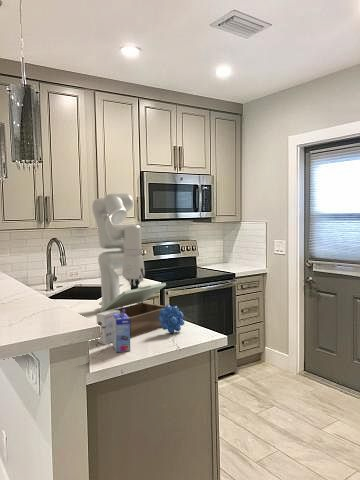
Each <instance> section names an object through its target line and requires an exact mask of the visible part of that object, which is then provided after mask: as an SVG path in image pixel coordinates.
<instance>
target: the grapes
mask: <svg viewBox="0 0 360 480" xmlns="http://www.w3.org/2000/svg"><path fill="white" fill-rule="evenodd" d="M164 306H165V309H161V310H160V315H162V316H159V317H158V320H159V322H160V323H162V324H161V327H162V328H161V329H162V330H167V331H168V333H170V334H174V332H175V331H176V332H180V331H181V329H182V327H181V326H184V325H185V320H184V319H183V318H184V312H182V311H179V307H178V306H177V305H174V306H171V304H166V305H164Z"/></svg>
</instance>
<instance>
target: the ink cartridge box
mask: <svg viewBox="0 0 360 480" xmlns="http://www.w3.org/2000/svg"><path fill="white" fill-rule="evenodd" d="M123 311H124V313H123ZM123 311H122V312H121V314H113V342H112V346H113V348H114V350H115V353H123V352H126V353H127V352H131V337H130V318H129V317H128V316H127V315H126V313H125V309H123Z"/></svg>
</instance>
